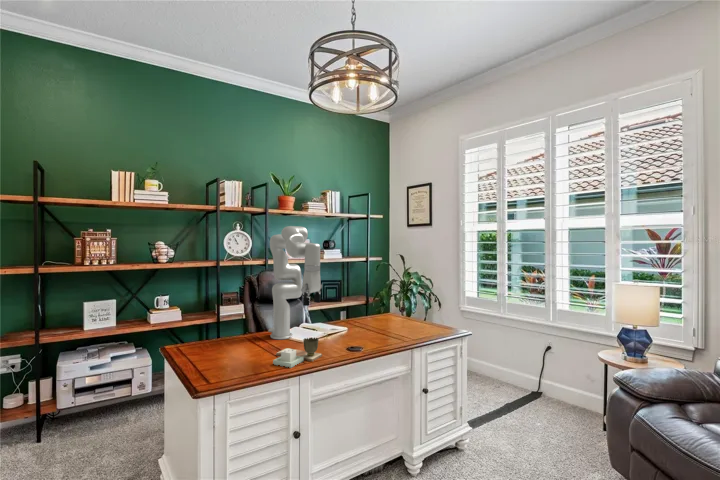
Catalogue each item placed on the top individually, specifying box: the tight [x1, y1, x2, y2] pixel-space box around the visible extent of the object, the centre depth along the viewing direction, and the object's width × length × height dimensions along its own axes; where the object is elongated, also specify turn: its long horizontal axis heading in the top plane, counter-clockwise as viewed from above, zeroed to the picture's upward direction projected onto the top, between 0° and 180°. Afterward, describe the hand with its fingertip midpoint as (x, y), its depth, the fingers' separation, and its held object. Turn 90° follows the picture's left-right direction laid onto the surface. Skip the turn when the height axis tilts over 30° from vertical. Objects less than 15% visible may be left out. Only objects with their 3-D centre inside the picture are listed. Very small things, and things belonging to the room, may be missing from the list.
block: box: [280, 348, 297, 363], centre depth 173 cm, size 5×5×5 cm
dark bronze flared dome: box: [302, 337, 319, 356], centre depth 180 cm, size 8×7×8 cm
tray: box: [272, 356, 305, 369], centre depth 172 cm, size 10×10×2 cm
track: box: [275, 347, 323, 363], centre depth 183 cm, size 21×9×1 cm, turn 65°
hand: (311, 303), depth 180 cm, fingers open, 9 cm apart
